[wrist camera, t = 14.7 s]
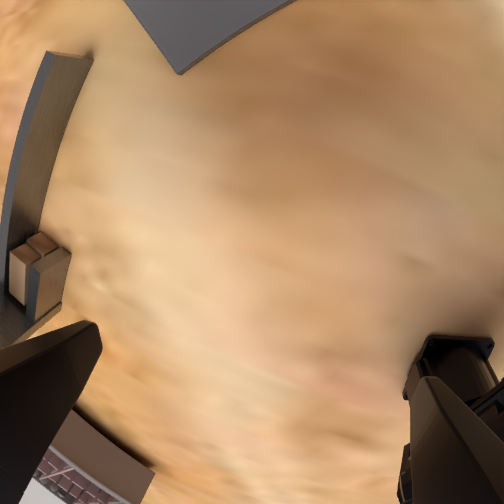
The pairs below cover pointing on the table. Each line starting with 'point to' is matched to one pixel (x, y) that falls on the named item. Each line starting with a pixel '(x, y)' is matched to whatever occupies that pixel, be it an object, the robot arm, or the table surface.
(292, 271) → the table surface
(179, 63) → the rubber mat
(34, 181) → the board rack
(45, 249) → the block
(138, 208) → the table surface
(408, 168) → the table surface
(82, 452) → the organizer tray
